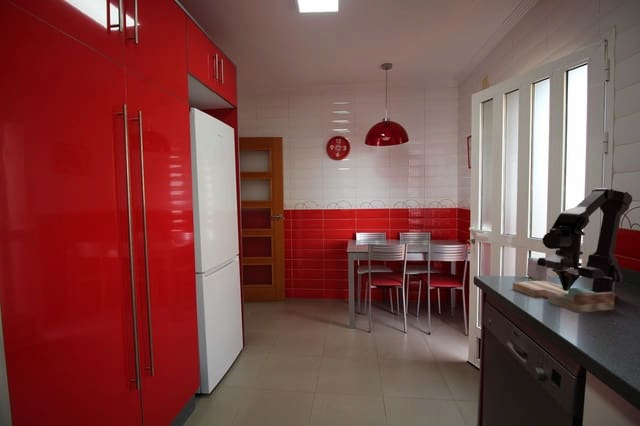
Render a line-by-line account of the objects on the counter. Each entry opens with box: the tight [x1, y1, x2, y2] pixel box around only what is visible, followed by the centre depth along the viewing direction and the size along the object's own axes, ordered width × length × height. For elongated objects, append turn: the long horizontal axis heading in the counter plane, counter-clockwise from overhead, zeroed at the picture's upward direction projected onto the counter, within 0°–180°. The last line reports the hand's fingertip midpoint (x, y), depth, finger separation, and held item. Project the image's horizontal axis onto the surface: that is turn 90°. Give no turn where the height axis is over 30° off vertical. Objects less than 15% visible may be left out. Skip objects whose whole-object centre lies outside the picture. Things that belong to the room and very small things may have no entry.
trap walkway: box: [511, 280, 616, 314], centre depth 109 cm, size 16×24×6 cm, turn 14°
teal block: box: [568, 287, 596, 299], centre depth 102 cm, size 5×5×3 cm
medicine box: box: [526, 257, 548, 281], centre depth 134 cm, size 8×4×9 cm, turn 168°
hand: (565, 290), depth 107 cm, fingers closed
